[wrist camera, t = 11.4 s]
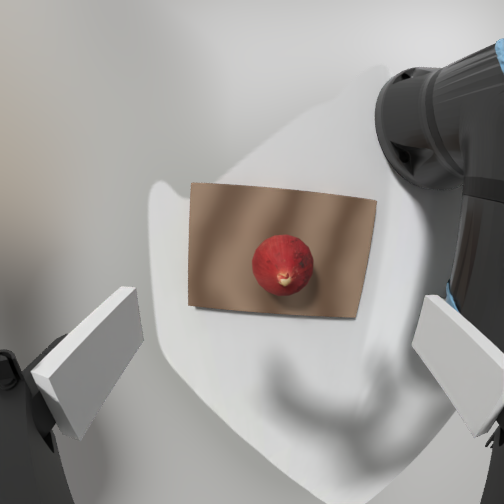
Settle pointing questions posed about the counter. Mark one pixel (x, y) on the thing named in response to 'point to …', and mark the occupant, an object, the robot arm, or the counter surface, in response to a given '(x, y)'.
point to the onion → (282, 265)
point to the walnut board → (270, 224)
